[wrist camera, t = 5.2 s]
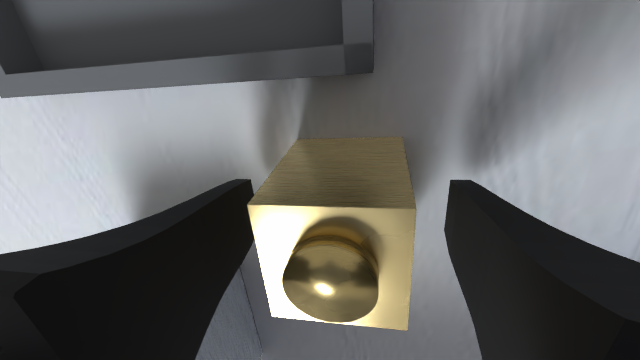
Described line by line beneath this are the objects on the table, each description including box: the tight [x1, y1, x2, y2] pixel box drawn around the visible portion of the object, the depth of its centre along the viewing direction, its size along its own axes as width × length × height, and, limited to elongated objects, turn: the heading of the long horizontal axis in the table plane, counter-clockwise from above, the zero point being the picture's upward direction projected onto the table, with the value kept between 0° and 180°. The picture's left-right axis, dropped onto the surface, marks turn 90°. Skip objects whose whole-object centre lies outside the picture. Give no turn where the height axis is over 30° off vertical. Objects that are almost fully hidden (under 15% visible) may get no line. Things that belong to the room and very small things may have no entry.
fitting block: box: [247, 137, 416, 331], centre depth 10 cm, size 4×4×6 cm
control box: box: [195, 268, 263, 360], centre depth 15 cm, size 6×8×6 cm
